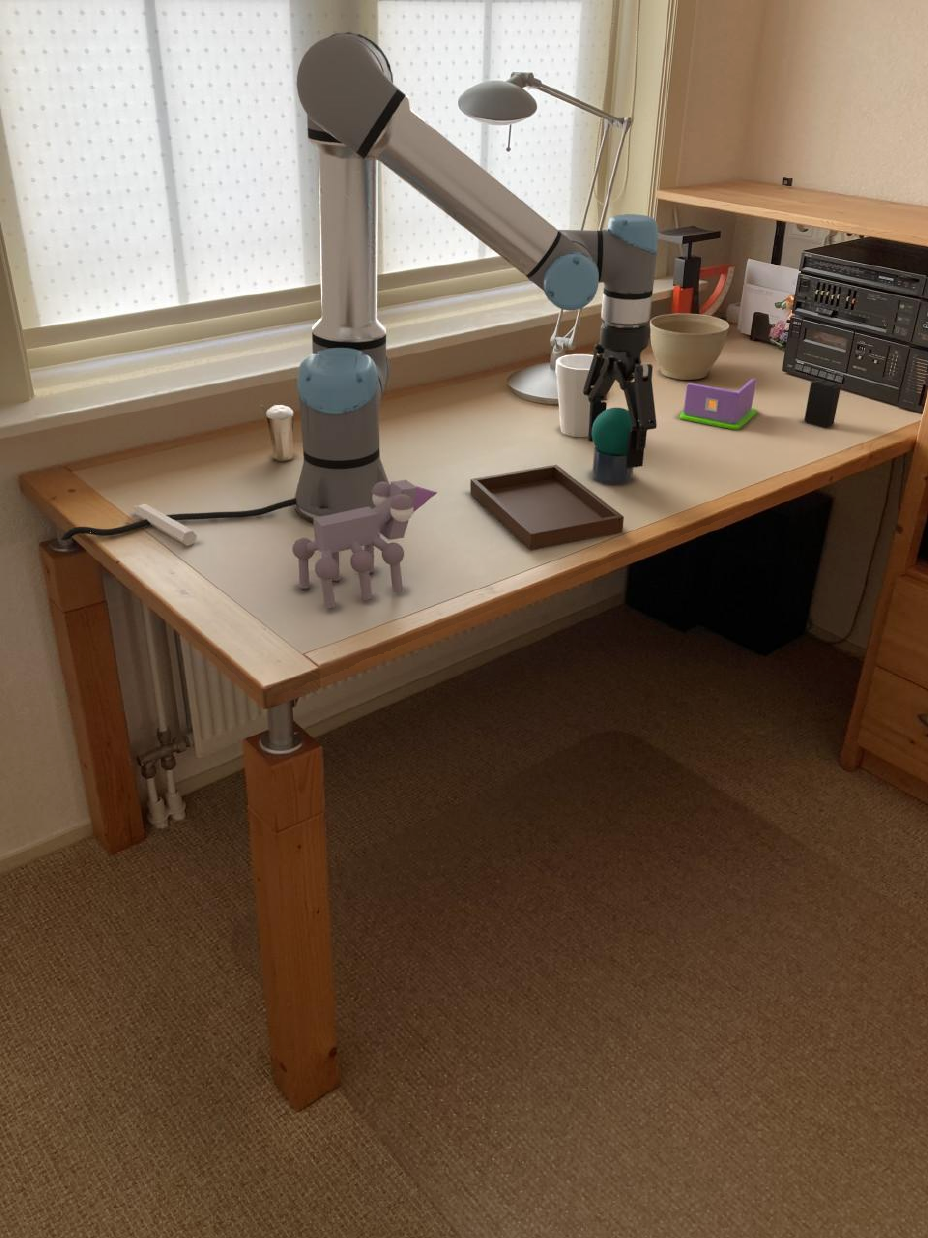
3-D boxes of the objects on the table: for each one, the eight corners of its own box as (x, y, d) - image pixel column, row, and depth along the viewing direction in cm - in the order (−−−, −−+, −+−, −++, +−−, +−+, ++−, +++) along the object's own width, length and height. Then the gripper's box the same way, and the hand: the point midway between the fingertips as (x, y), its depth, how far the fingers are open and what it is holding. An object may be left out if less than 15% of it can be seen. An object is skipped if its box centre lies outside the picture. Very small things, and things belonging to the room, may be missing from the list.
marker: (135, 515, 165) (193, 547, 155) (123, 512, 163) (181, 544, 154) (140, 499, 165) (198, 530, 155) (129, 496, 163) (187, 527, 153)
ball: (605, 467, 171) (609, 420, 167) (581, 450, 177) (584, 404, 173) (647, 460, 174) (652, 413, 170) (622, 443, 180) (626, 398, 176)
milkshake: (262, 456, 184) (256, 400, 179) (291, 450, 186) (287, 395, 181) (270, 465, 181) (265, 408, 176) (300, 459, 183) (296, 404, 178)
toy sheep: (421, 551, 154) (420, 464, 147) (457, 583, 146) (457, 491, 139) (291, 582, 145) (284, 491, 138) (321, 618, 137) (314, 522, 130)
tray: (529, 550, 154) (530, 534, 153) (470, 493, 171) (470, 478, 170) (622, 532, 160) (624, 516, 158) (555, 479, 177) (556, 464, 175)
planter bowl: (725, 366, 230) (732, 316, 224) (717, 389, 216) (724, 336, 211) (651, 359, 234) (656, 309, 228) (639, 381, 221) (644, 329, 215)
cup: (605, 487, 174) (607, 458, 171) (585, 472, 179) (587, 444, 176) (639, 481, 176) (642, 452, 174) (619, 466, 181) (621, 439, 179)
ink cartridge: (833, 425, 199) (841, 384, 195) (827, 428, 198) (835, 387, 194) (810, 418, 202) (817, 378, 198) (803, 421, 201) (811, 380, 197)
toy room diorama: (738, 430, 196) (743, 395, 193) (677, 418, 202) (681, 383, 198) (758, 412, 205) (764, 377, 202) (699, 400, 211) (704, 366, 207)
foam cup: (603, 423, 199) (608, 354, 193) (604, 441, 191) (609, 370, 185) (552, 420, 200) (556, 353, 194) (551, 438, 192) (555, 368, 186)
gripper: (689, 339, 156) (673, 476, 167) (607, 300, 175) (598, 425, 186) (646, 345, 154) (632, 483, 165) (567, 305, 172) (560, 431, 184)
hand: (614, 453), depth 175 cm, fingers open, 12 cm apart
